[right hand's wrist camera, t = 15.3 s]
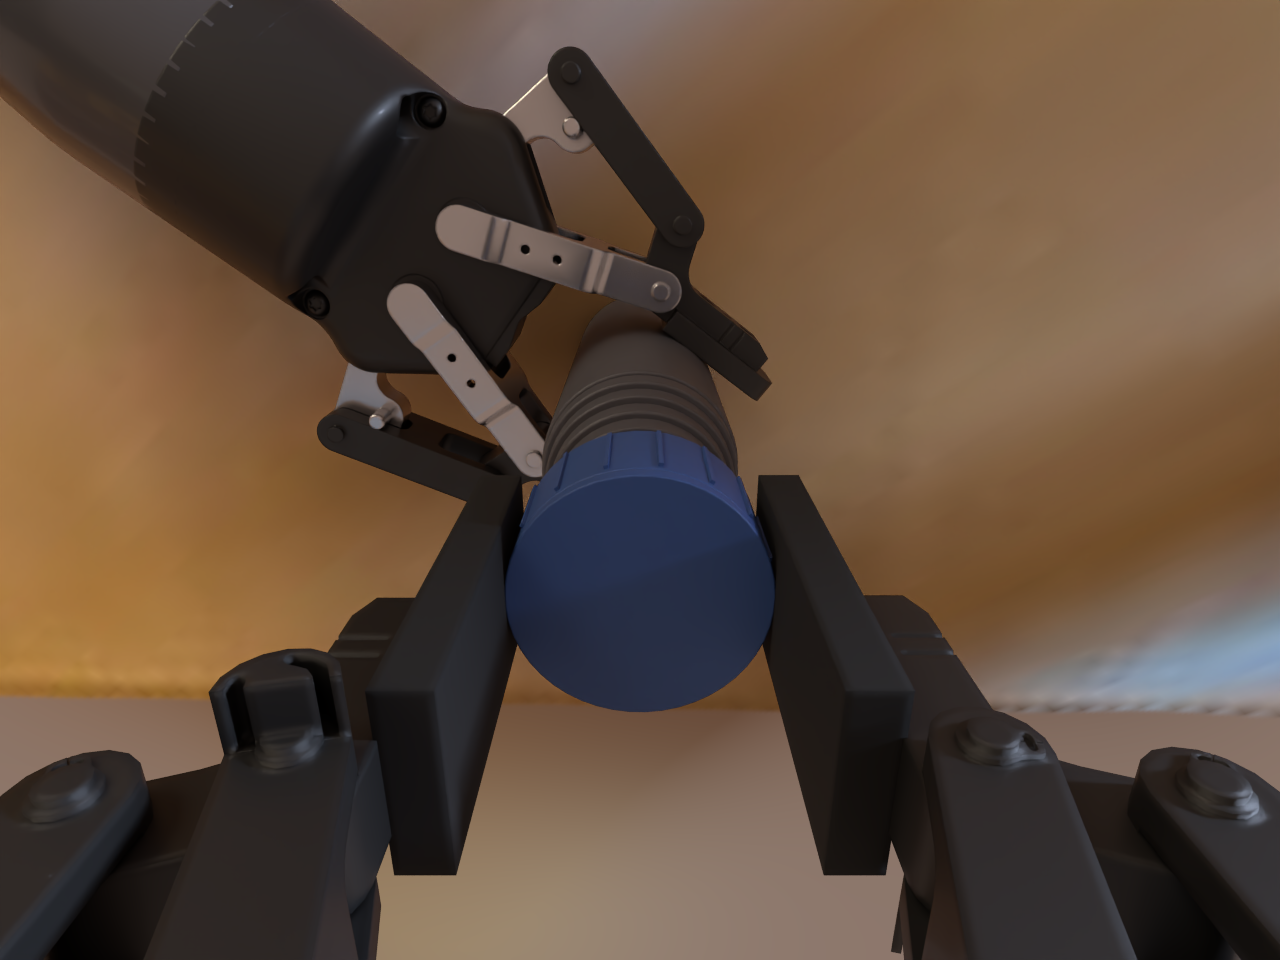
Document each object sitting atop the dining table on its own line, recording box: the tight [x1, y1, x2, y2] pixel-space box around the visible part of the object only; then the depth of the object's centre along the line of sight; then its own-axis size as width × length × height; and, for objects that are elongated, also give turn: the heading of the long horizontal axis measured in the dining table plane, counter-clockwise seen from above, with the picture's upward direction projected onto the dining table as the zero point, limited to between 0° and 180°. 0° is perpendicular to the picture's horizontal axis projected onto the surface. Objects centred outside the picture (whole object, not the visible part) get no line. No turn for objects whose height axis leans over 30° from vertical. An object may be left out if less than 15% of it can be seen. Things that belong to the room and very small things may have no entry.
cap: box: [505, 430, 775, 712], centre depth 14 cm, size 5×5×2 cm
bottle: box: [542, 300, 738, 478], centre depth 22 cm, size 5×5×18 cm
